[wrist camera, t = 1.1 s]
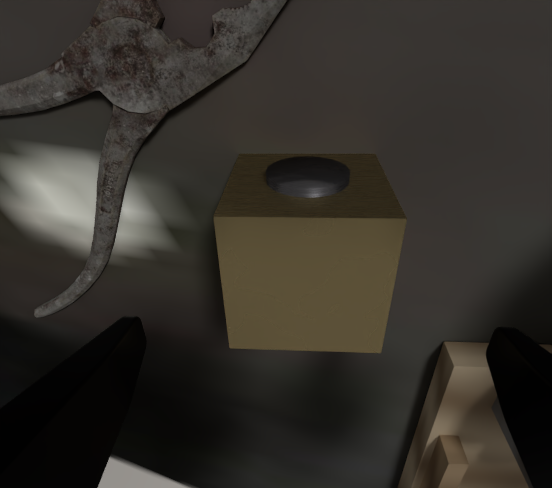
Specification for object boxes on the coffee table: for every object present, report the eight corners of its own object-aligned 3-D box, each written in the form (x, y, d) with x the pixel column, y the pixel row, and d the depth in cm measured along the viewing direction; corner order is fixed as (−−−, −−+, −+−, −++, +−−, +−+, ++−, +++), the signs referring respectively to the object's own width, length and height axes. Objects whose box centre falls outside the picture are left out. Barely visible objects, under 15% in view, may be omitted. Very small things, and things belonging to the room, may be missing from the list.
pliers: (-154, 224, 16) (-34, -457, 7) (-134, 214, 17) (-4, -416, 8) (59, 332, 19) (332, -57, 10) (68, 320, 20) (330, -53, 11)
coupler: (375, 145, 14) (409, 208, 9) (360, 269, 17) (379, 359, 12) (239, 145, 14) (212, 206, 10) (248, 267, 17) (230, 354, 13)
